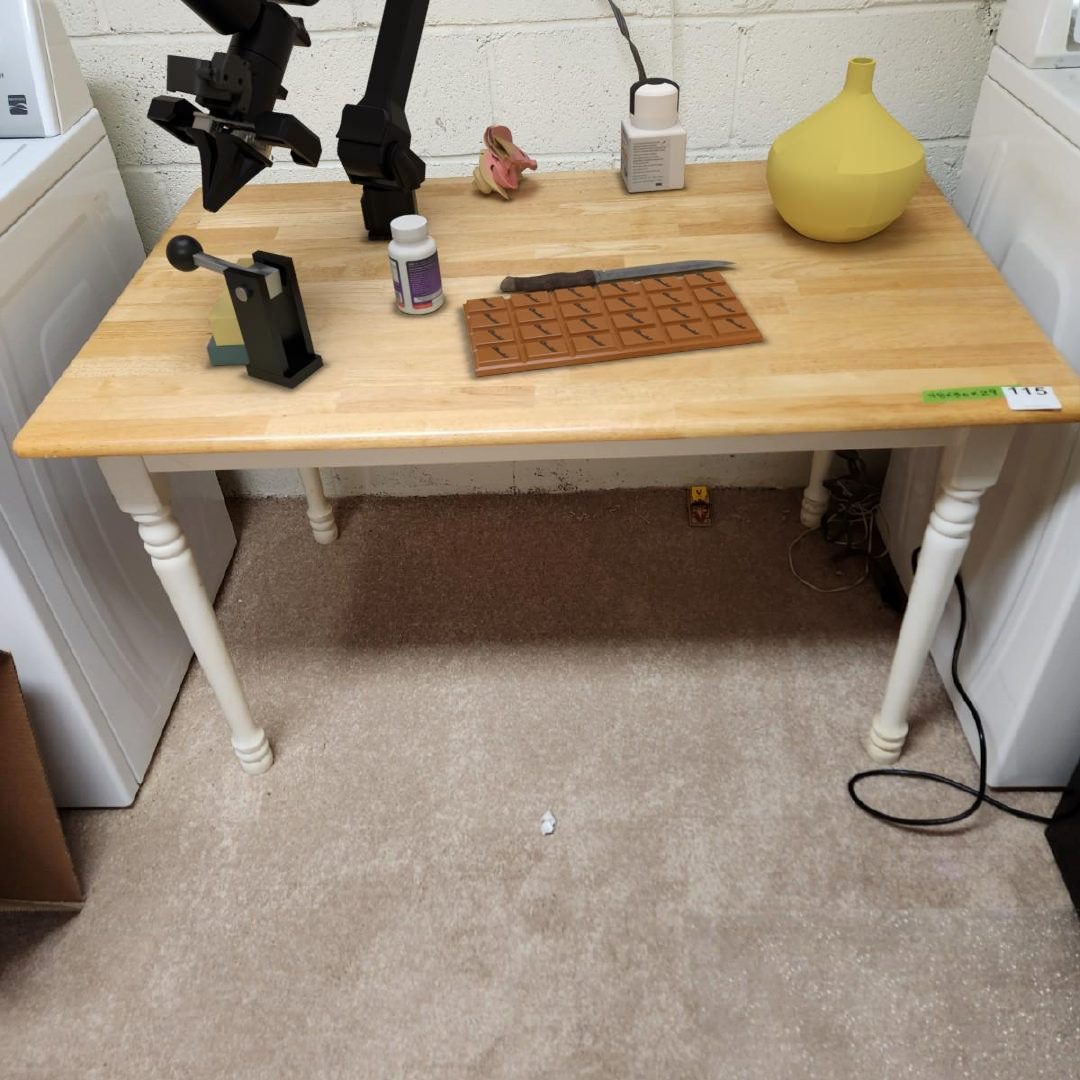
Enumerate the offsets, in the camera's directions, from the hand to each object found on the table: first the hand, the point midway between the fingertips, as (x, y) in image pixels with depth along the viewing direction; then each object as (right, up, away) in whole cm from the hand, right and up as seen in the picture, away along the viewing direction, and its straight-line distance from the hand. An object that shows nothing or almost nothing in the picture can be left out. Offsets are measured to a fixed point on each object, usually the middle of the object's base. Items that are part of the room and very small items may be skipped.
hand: (209, 210), depth 94 cm
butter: (+1, -8, +8) cm, 11 cm away
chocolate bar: (+41, -10, +7) cm, 43 cm away
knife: (+43, -3, +14) cm, 45 cm away
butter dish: (+1, -10, +9) cm, 14 cm away
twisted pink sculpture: (+29, +16, +36) cm, 49 cm away
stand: (+7, -16, +2) cm, 17 cm away
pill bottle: (+20, -7, +12) cm, 24 cm away
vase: (+71, +6, +22) cm, 74 cm away
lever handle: (+2, -8, -1) cm, 8 cm away
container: (+49, +17, +36) cm, 63 cm away
